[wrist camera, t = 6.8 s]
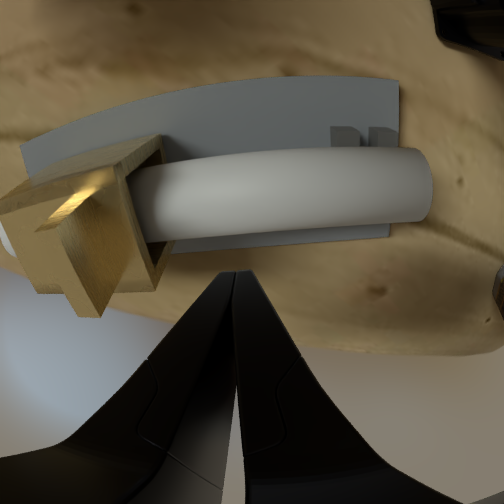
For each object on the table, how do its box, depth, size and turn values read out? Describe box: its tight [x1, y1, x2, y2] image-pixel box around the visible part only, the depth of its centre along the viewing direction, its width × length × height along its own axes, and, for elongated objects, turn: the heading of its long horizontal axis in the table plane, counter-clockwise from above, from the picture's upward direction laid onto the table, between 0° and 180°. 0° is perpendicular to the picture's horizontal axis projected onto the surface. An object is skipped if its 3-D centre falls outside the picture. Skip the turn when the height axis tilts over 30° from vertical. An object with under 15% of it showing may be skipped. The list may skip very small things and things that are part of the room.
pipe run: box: [0, 76, 433, 257], centre depth 14 cm, size 24×10×6 cm, turn 96°
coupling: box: [0, 133, 176, 318], centre depth 12 cm, size 8×6×8 cm
